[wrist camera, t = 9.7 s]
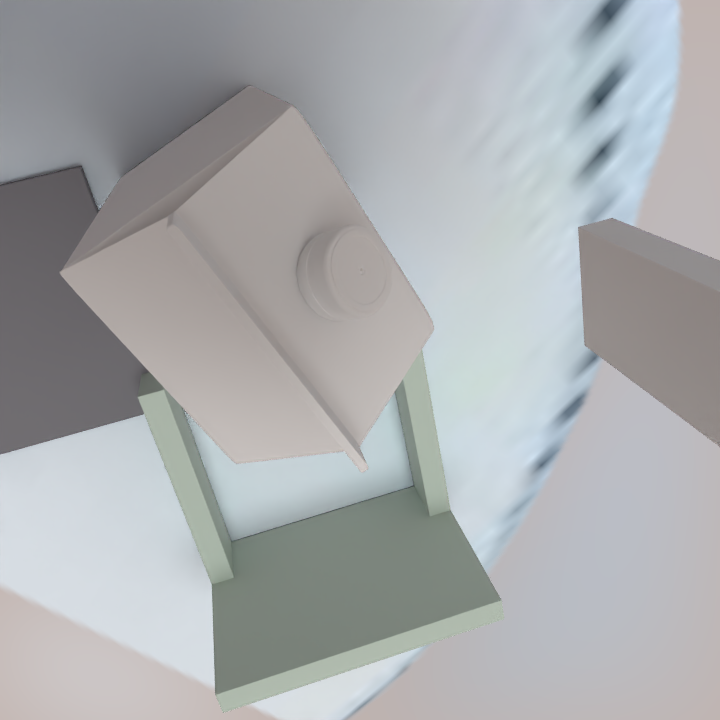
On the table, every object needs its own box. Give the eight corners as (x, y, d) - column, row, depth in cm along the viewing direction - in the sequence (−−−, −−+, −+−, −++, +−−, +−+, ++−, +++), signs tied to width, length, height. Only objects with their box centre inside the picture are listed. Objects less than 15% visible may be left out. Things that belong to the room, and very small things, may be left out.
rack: (142, 370, 34) (123, 482, 25) (399, 299, 35) (469, 381, 26) (216, 564, 39) (223, 712, 30) (436, 496, 41) (504, 618, 32)
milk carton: (218, 301, 33) (242, 555, 16) (118, 177, 30) (18, 333, 13) (338, 217, 33) (493, 386, 16) (250, 83, 30) (324, 115, 13)
